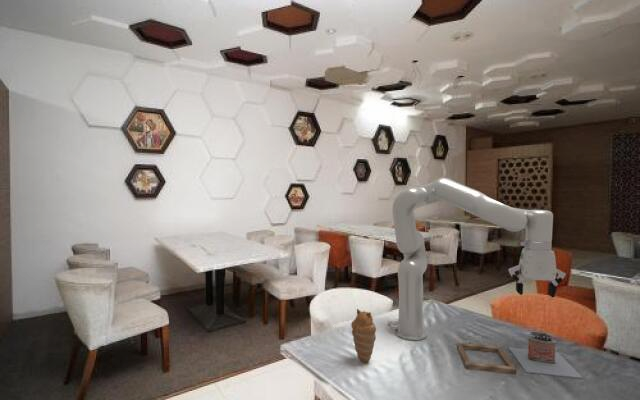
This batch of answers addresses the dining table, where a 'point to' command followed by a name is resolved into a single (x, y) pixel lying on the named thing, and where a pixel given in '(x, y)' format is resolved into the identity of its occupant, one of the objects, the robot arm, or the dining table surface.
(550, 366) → the pad
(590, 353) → the dining table surface
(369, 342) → the cat ice cream
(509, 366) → the picture frame
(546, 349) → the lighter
